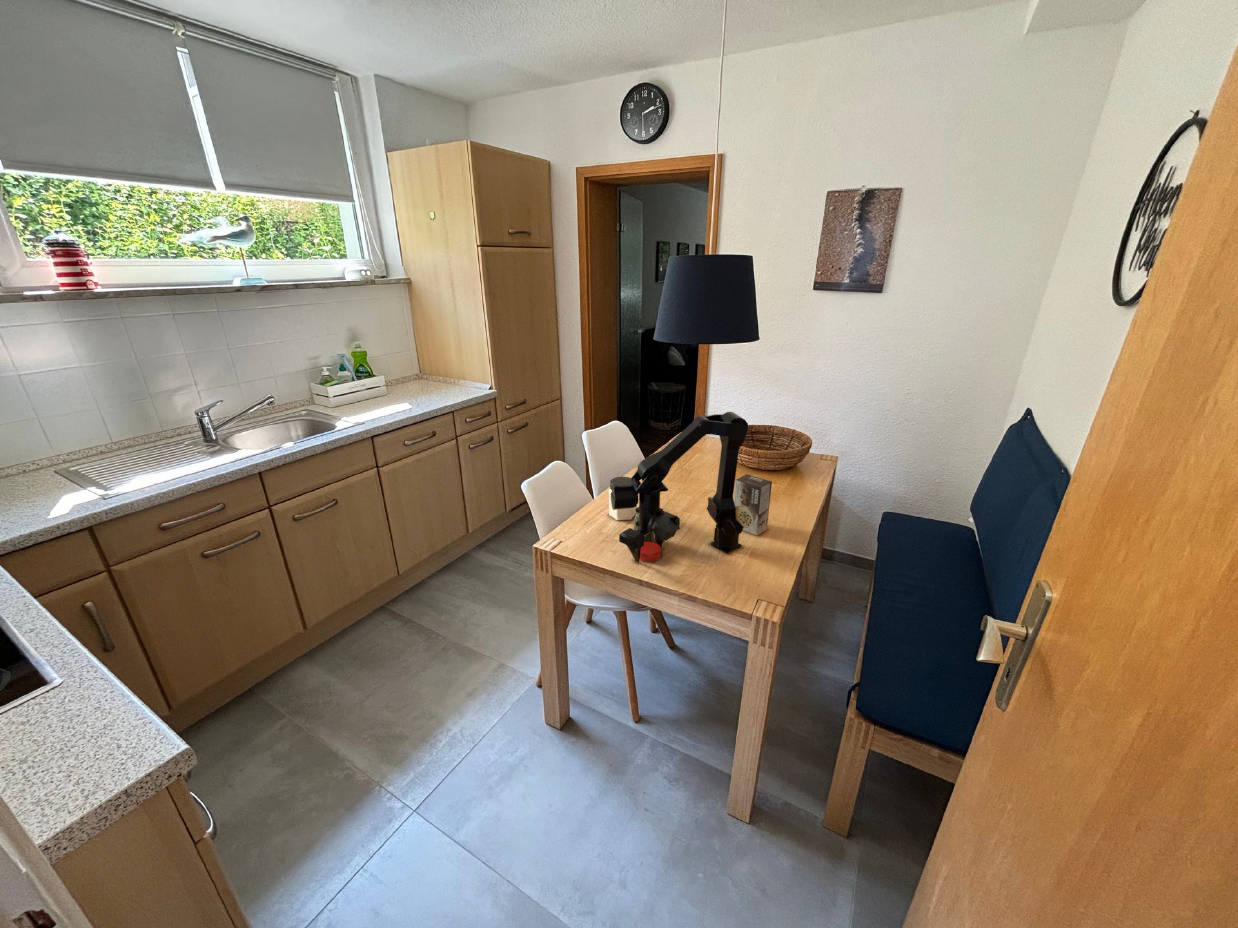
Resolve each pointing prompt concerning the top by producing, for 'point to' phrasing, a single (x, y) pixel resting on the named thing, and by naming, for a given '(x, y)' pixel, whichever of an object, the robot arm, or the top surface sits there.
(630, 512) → the jar
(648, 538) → the green jar
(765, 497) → the coffee box
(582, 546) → the top surface
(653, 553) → the lid
